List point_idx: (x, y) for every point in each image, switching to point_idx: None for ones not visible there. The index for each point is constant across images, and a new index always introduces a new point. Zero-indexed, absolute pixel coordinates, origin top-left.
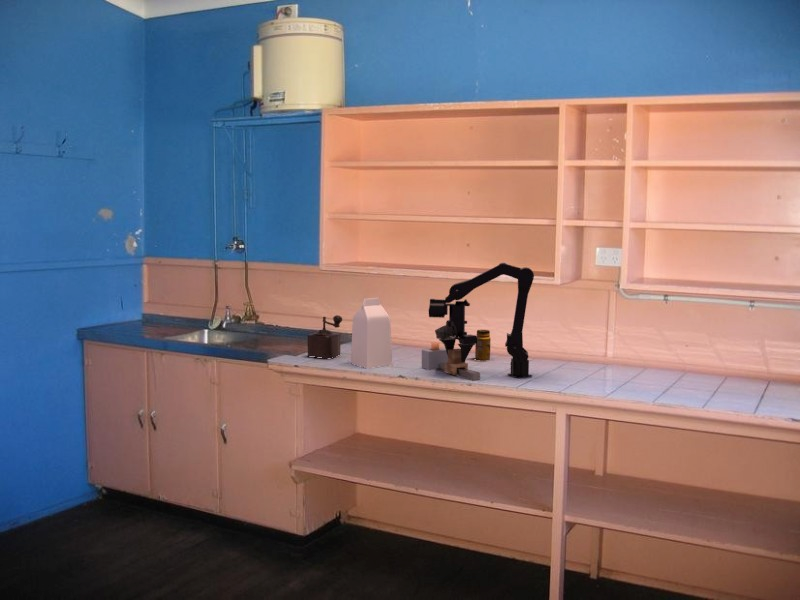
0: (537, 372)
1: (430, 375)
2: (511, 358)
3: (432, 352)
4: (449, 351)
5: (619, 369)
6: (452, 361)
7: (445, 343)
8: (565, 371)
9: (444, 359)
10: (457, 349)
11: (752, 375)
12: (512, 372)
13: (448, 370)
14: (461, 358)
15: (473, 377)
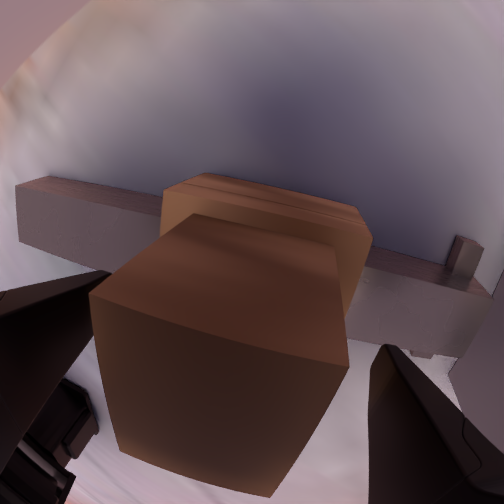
0: (104, 459)
1: (380, 47)
2: (48, 450)
3: None
4: (283, 331)
5: (86, 499)
6: (216, 229)
7: (489, 496)
8: (95, 478)
9: (485, 392)
10: (225, 459)
11: None
12: (56, 392)
13: (296, 196)
14: (84, 282)
15: (33, 181)
